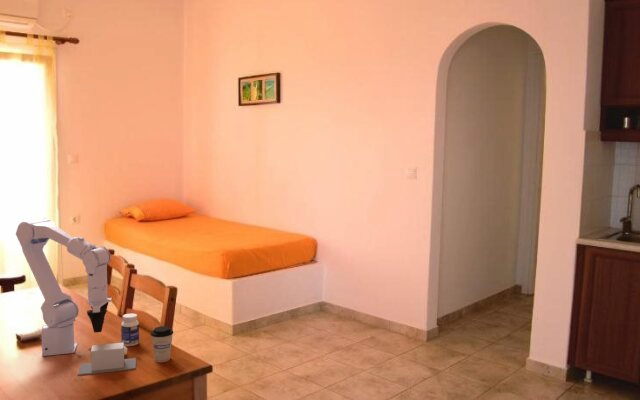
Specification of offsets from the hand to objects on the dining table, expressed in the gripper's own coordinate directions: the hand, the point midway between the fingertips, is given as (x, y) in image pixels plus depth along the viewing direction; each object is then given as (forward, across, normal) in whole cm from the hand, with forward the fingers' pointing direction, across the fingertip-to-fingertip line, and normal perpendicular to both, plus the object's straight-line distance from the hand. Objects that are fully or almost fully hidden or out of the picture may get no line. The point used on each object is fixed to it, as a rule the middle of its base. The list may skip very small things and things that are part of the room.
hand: (98, 327), depth 170 cm
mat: (+9, -10, -3) cm, 14 cm away
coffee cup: (+10, -8, -19) cm, 23 cm away
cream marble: (+9, -1, -7) cm, 12 cm away
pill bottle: (+10, +9, -9) cm, 16 cm away
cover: (+9, -10, -3) cm, 13 cm away
